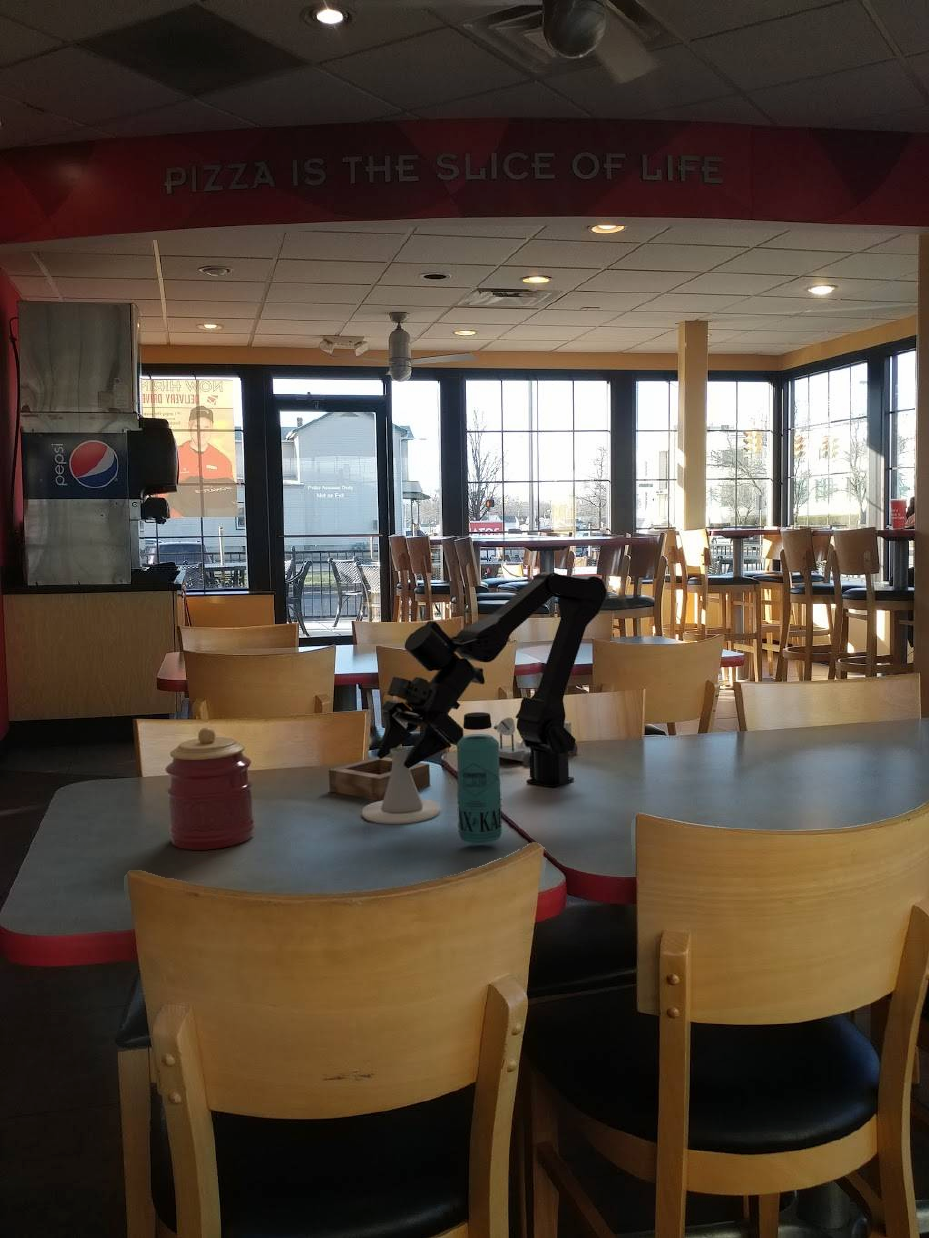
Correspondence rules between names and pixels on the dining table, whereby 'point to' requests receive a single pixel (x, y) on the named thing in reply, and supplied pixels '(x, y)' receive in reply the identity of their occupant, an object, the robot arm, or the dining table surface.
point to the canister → (209, 793)
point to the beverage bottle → (478, 782)
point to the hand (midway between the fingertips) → (391, 761)
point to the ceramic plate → (400, 813)
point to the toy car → (519, 742)
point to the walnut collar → (372, 778)
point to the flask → (401, 786)
